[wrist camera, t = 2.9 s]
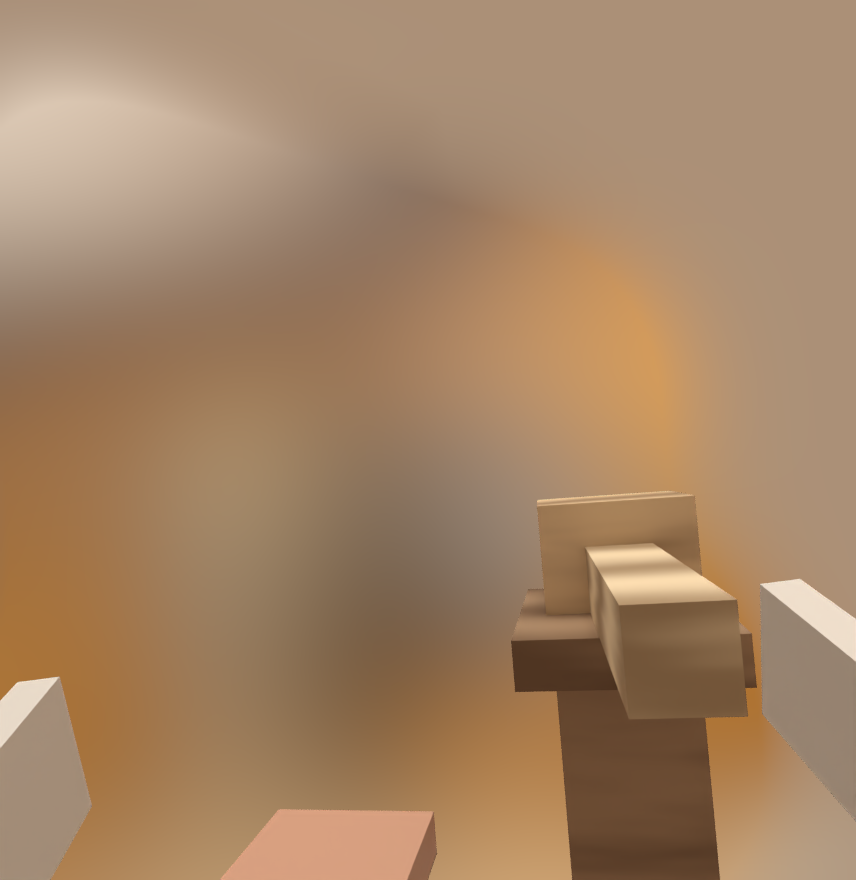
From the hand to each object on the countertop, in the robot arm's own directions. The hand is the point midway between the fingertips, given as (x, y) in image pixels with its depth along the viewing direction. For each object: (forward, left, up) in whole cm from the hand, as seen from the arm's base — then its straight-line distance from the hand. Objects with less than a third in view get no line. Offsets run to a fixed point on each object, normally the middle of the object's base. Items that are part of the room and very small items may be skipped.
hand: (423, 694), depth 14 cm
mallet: (-14, +10, -3) cm, 18 cm away
